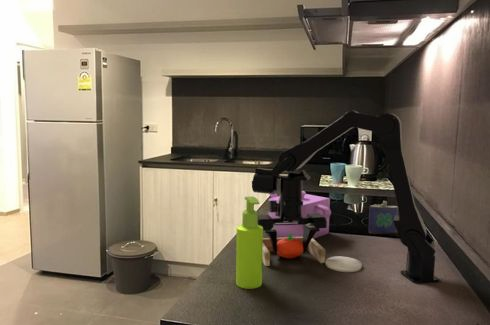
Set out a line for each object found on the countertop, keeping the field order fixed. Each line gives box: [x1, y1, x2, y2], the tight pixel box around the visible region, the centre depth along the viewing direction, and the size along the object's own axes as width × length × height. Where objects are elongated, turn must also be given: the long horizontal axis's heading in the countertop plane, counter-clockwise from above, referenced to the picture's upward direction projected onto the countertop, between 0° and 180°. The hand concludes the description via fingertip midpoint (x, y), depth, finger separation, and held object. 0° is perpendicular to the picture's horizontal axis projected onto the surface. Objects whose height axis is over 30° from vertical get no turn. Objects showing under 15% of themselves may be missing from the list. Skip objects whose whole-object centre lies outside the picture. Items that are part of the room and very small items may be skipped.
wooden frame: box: [262, 237, 326, 267], centre depth 112 cm, size 12×16×4 cm
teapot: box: [268, 190, 332, 240], centre depth 134 cm, size 15×25×14 cm, turn 47°
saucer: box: [324, 255, 363, 273], centre depth 106 cm, size 9×9×1 cm
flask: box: [368, 200, 399, 235], centre depth 136 cm, size 9×3×11 cm, turn 88°
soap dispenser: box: [235, 196, 264, 290], centre depth 93 cm, size 6×7×20 cm
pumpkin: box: [276, 234, 304, 259], centre depth 112 cm, size 7×8×6 cm
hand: (289, 252), depth 112 cm, fingers closed on pumpkin, 7 cm apart
